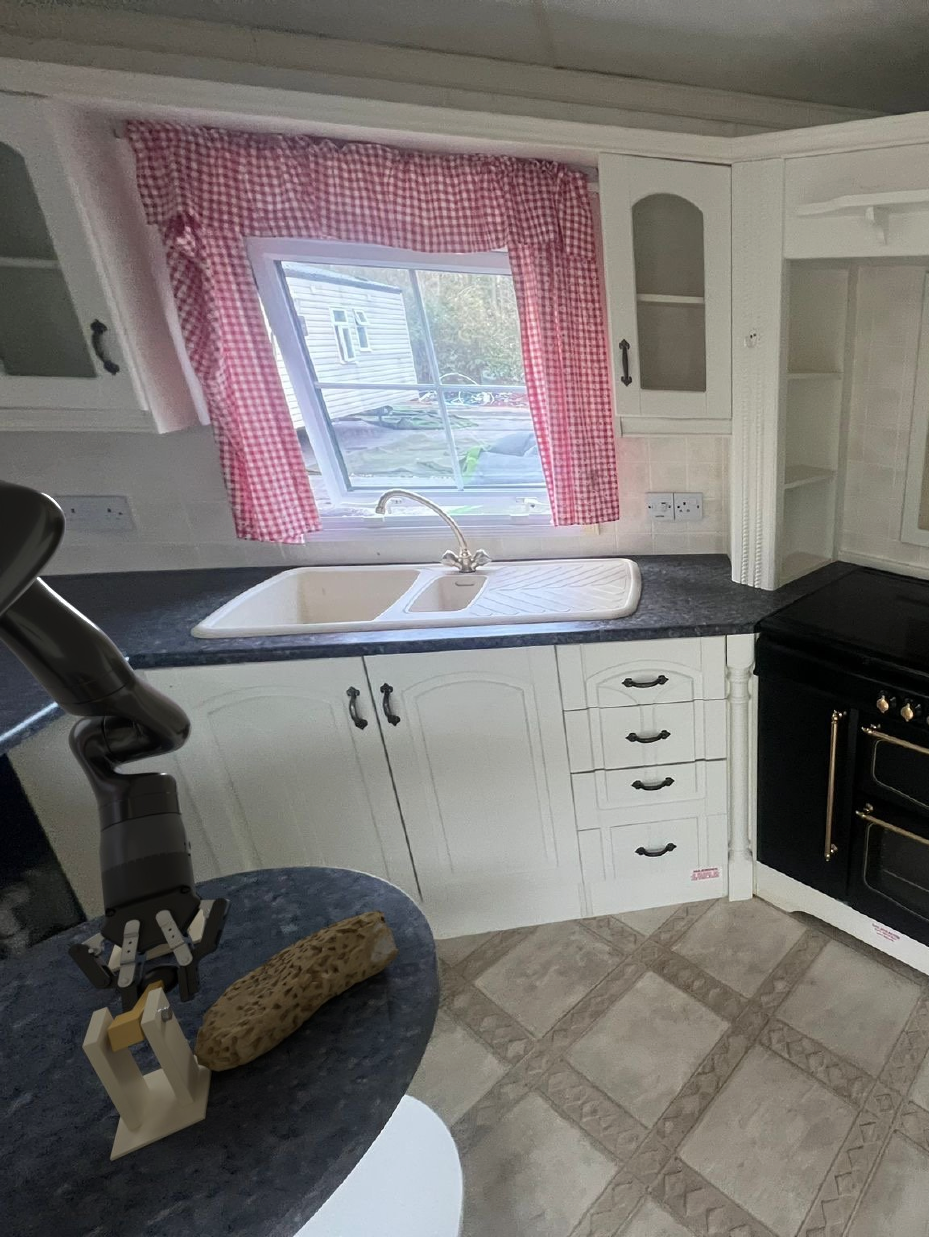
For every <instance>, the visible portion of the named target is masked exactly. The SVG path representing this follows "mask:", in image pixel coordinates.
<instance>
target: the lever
mask: <svg viewBox="0 0 929 1237" xmlns="http://www.w3.org/2000/svg"><path fill="white" fill-rule="evenodd" d="M177 969H180V967H179V966H177V965H175V964H173V963H161V964H157V965H155V966H153V967H151V968H150V969H148V970H147V971H146V972H145V973H144V974H142V977H141V980H140V982H139V990H140V992H141V993H142V994H143V995H142V996H141V998H140V999H139V1001H138V1002H137V1004H136V1005H135V1007H134V1008H133V1010H132V1011H129V1012H126V1013H124V1014H123V1013H121V1014H119V1015H116V1016H115V1017H114V1018H113V1019H114V1020H113V1022H112V1023H111V1025H110V1026H109V1028H108V1029H107V1032H108V1036H109V1039H110V1043H111V1046H112V1050H113V1052H115V1051H117V1050H120V1049H122V1048H125V1047H130V1046H133V1045H135V1044H138V1043H140V1042H143V1041H144V1040H145V1038H147V1037H146V1035H145V1033H144V1031H143V1029H142V1027H141V1021H142V1017H143V1013H144V1009H145V1005H146V1001H147V997H148V993H149V991H152V990H155V989H158V988H160V987H162V989H163V991H164V994H165V995H167V994H169V993H171V992H172V991H173V990H174V989H175V988H177V986H179V984H178V976H177Z"/></svg>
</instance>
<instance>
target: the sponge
mask: <svg viewBox="0 0 929 1237" xmlns="http://www.w3.org/2000/svg"><path fill="white" fill-rule="evenodd" d="M385 919H386V916H385V913H384V912H382V911H380V910H379V909H376V910H371V911H366V912H364V913H360V914H359V915H356V916H352V917H348V918H343V919H341V920H339V921H338V922H335V923H332V924H331V925H328V926H327V927H326V926H325V927H323V928H321V929H320V930H317V931H316V932H313V933H312V934H311V935H307V936H306V937H304V938H301V939H300V940H298V941H296V942H294V943H292V944H290V945H289V946H288V947H286V948H284V949H283V950H280V951H279V952H277V953H276V954H273V956H271V957H270V958H269V959H268V961H267V962H264V963H263V964H262V965H260V966H258V967H257V968H255V969H253V970H252V971H250V972H248V974H247V975H245V976H243V977H242V978H239V979H237V980H236V981H235V982H233V983H232V984H231V985H229V986H228V987H227V988H226V989H225V990H224V992H223V994H222V995H220V997H218V999H217V1000H216V1002H214V1003H213V1004H212V1005H211V1006H210V1008H209V1009H208V1010H207V1011H206V1012H205V1014H204V1015H203V1016H202V1020H203V1023H202V1026H199V1027H198V1031H197V1034H196V1043H195V1046H194V1049H193V1051H192V1054H193V1055H195V1056H196V1057H197V1062H198V1065H201V1066H205V1067H206V1068H208V1069H210V1070H212V1071H214V1072H221V1071H225V1070H232V1069H234V1068H236V1067H238V1066H239V1067H240V1066H242V1065H243V1066H244V1065H246V1064H248V1063H250V1062H253V1061H255V1059H257V1058H258V1057H261V1056H262V1055H264V1054H266V1053H267V1052H269V1051H271V1050H272V1049H274V1048H275V1047H276V1046H278V1045H279V1044H280V1043H281V1042H283V1041H284V1039H286V1038H288V1037H289V1036H291V1034H292V1033H294V1032H296V1030H298V1029H299V1028H301V1026H302V1025H303V1023H304V1022H305V1021H307V1020H308V1019H309V1018H310V1017H311V1016H312V1015H313V1014H314V1013H316V1011H318V1009H319V1008H320V1007H322V1006H323V1005H324V1004H325V1003H326V1002H327V1001H329V1000H330V999H332V998H335V996H339V995H341V994H342V993H343V992H346V990H348V989H350V988H351V987H352V986H354V985H355V984H357V983H360V982H363V981H365V980H366V979H368V978H370V977H372V976H374V975H377V974H379V973H381V972H382V971H383V970H384V969H385V968H387V967H388V966H389V965H390V964H392V963H393V961H394V960H395V959H396V958H397V956H398V955H399V952H400V951H399V948H398V947H397V945H396V943H395V937H394V934H393V931H392V930H391V928H390V927H388V926H387V924H386V920H385Z"/></svg>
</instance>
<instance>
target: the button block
mask: <svg viewBox="0 0 929 1237" xmlns="http://www.w3.org/2000/svg"><path fill="white" fill-rule="evenodd" d="M206 920H207V918H205V917H204V916H203V910H202V909H200V911H199V912H198V914H197V915H196V917H195V919H194V920H193V922H192V923H191V925H190V926H189V928H188V932H189V934H190V936H191V938H192V940H193V945H196V944H198V943H199V944H200V942H201V939H202V935H203V932H204V929H205V926H206ZM113 945H114V946H113V949H112V952H111V954H110V958H109V961H108V964H107V965H108V966H109V967H110V969H111V970H112V971H113V973H115V972H117V971H120V968H121V966H120V957H121V952H122V948H120V947H118V946H117V945H115V944H113ZM172 952H173V950H172V949H171V948H170V946H169V944H161V945H158V946H157V947H155V948H153V949H151V950H148V951H147V957H146V961H149V960H152V959H156V958H158V957H160V956H164V955H167V954H169V953H172ZM173 953H174V952H173Z"/></svg>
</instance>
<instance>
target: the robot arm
mask: <svg viewBox="0 0 929 1237" xmlns="http://www.w3.org/2000/svg"><path fill="white" fill-rule="evenodd" d="M66 534H67V518H66V514H65V512H64V510H63V509H62V507H61V506H60V505H59V503H58V502H57V501H56V500H54V498H52V497H51V496H50V495H48V494H47V493H45V492H42V491H40V490H38V489H36V488H32V487H29V486H26V485H22V484H18V483H15V482H11V481H7V480H3V479H0V640H1V642H2V643H4V644H5V646H6V647H7V648H8V649H9V650H10V651H11V652H12V653H13V654H14V656H16V658H17V659H18V660H19V661H20V662H21V663H22V665H23V666H24V667H25V668H26V669H27V671H28V672H29V673H30V674H31V675H32V677H34V679H35V680H36V681H37V682H38V683H39V684H40V686H41V687H42V688H43V689H44V691H45V692H46V693H47V694H48V695H49V697H50V698H51V699H52V700H53V701H54V702H55V704H56V705H57V706H59V709H62V710H63V711H64V712H65V713H67V714H68V715H71V716H75V717H81V718H80V719H78V720H77V721H76V722H75V723H74V724H73V725H72V727H71V728H70V731H69V733H68V738H67V740H68V747H69V749H70V751H71V753H72V755H73V757H74V759H75V760H76V762H77V763H78V765H79V766H80V768H81V769H82V772H83V773H84V775H85V777H86V779H87V781H88V783H89V785H90V787H91V790H92V792H93V795H94V798H95V801H96V805H97V814H98V815H97V816H98V824H99V825H98V826H99V833H100V834H99V837H100V838H99V847H98V856H99V868H100V879H101V891H102V898H103V908H104V909H103V910H104V921H103V923H102V925H101V927H100V929H99V933H96V934H94V935H93V936H91V937H90V938H89V939H86V940H85V941H83V942H82V943H75V944H73V945H71V946H70V947H69V948H68V951H67V954H68V955H69V956H70V958H71V959H72V960H73V961H74V963H75V964H76V965H77V967H78V968H79V969H80V971H81V972H82V973H83V975H84V976H85V977H86V978H87V979H88V981H89V982H90V983H91V984H92V986H93V987H94V988H95V989H96V990H109V989H110V990H111V989H117V990H118V991H119V992H120V1000H121V1002H120V1003H121V1011H122V1014H124V1013H126V1012H129V1011H132V1010H133V1008H134V1007H135V1005H136V1004H137V1002H138V1001H139V999H140V998H141V996H142V995H143V994H142V993H141V992H140V990H139V982H140V980H141V978H142V977H143V970H144V965H145V963H146V961H147V960H146V957H147V951H148V950H151V949H153V948H155V947H157V946H158V945H161V944H169V946H170V948H171V949H172V950H173V954H174V956H175V958H176V961H177V963H178V964H179V969H177V976H178V990H179V991H178V992H179V999H180V1002H181V1003H182V1004H185V1003H189V1002H191V1001H193V1000H195V999H196V995H195V994H198V993H200V990H201V988H202V985H201V984H202V983H201V979H200V978H201V977H200V971H199V965H200V964H199V963H200V961H201V960H202V959H204V958H205V957H207V956H209V955H210V954H213V953H214V952H216V951H217V950H218V948H219V945H220V941H221V938H222V936H223V932H224V929H225V926H226V924H227V919H228V916H229V913H230V910H231V907H232V900H230V899H228V898H225V897H219V898H215V899H204V898H202V896H201V895H199V894H198V892H197V890H196V882H195V874H194V868H193V861H192V860H193V859H192V853H191V849H192V845H191V844H192V843H191V841H190V839H189V833H188V829H187V825H186V823H185V820H184V816H183V808H182V799H181V792H180V786H179V782H178V778H177V777H175V776H174V775H173V774H172V773H170V772H164V771H148V772H137V773H125V772H124V770H123V765H126V764H131V763H135V762H139V761H142V760H146V759H150V758H154V757H160V756H163V755H167V754H171V753H173V752H176V751H178V750H180V749H181V748H183V747H184V746H185V745H186V744H187V743H188V741H189V740H190V737H191V734H192V722H191V719H190V716H189V715H188V713H187V712H186V711H185V709H184V708H183V707H182V706H181V705H180V704H179V703H178V702H176V701H175V700H174V699H172V698H171V697H170V696H168V695H167V694H166V693H164V692H162V691H160V690H159V689H157V688H156V687H154V686H153V685H151V683H149V682H148V681H146V680H145V679H144V678H142V677H140V676H139V675H138V674H137V673H136V672H135V670H134V669H133V668H132V666H131V665H130V663H129V662H128V660H127V659H126V658H125V656H124V655H123V653H122V652H121V650H120V649H119V648H118V646H117V645H116V644H115V643H114V641H113V640H112V639H111V638H110V636H108V634H106V633H105V632H104V630H102V628H100V627H99V626H98V625H97V624H96V623H95V622H93V621H92V620H91V619H89V618H88V617H87V616H86V615H85V614H83V613H82V612H81V611H79V610H78V609H77V608H76V607H75V606H73V605H72V604H71V603H69V601H67V600H66V599H64V598H63V597H62V596H61V595H60V594H59V593H57V592H56V591H55V590H54V589H53V588H51V587H50V586H49V585H48V584H47V583H46V582H45V581H44V580H43V578H41V577H40V576H41V575H42V574H43V573H44V572H45V570H46V569H47V568H48V567H49V565H50V564H51V563H52V562H53V560H54V559H55V557H56V556H57V555H58V553H59V551H60V550H61V548H62V546H63V544H64V540H65V537H66ZM200 909H202V910H203V916H204V917H205V918H206V920H207V921H206V922H205V926H204V931H203V935H202V939H201V942H199V945H198V946H197V947H195V946H194V945H195V944H193V940H192V938H191V936H190V934H189V932H188V928H189V926H190V925H191V923H192V922H193V920H194V919H195V917H196V915H197V914H198V912H199V911H200ZM107 941H108V942H110V943H112V944H113V945H117V946H118V947H120V948H122V952H121V957H120V966H121V968H120V970H119V974H118V975H116V974H115V972H113V971H112V970H111V969H110V967H109V966H108V964H107V962H106V961H105V960H104V958H103V957H102V955H103V954H104V953H105V950H106V948H105V942H107Z"/></svg>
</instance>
